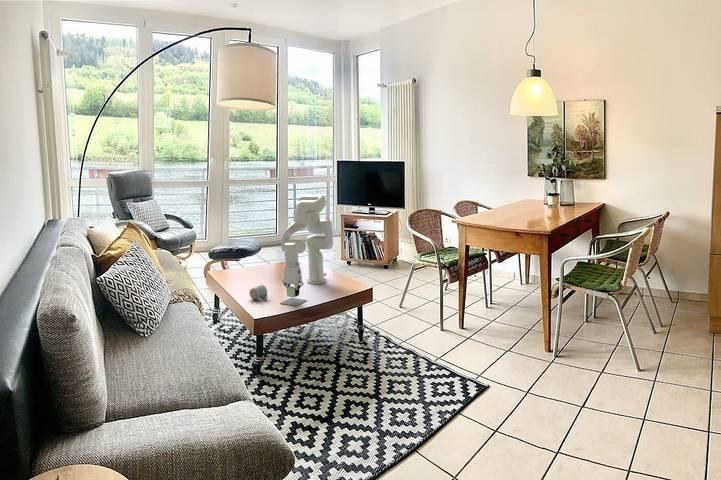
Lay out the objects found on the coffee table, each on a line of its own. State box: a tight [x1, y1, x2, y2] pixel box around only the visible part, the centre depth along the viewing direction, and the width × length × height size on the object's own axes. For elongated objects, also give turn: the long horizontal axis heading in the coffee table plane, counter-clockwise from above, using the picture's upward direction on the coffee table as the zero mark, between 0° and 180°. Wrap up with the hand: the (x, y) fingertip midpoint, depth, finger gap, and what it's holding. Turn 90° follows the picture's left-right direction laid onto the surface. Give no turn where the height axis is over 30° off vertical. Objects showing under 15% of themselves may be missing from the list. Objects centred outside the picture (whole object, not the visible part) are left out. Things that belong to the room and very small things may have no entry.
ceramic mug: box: [249, 284, 269, 302], centre depth 279 cm, size 11×8×8 cm
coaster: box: [279, 297, 308, 307], centre depth 272 cm, size 11×11×1 cm
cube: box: [286, 285, 298, 298], centre depth 271 cm, size 5×5×5 cm
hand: (293, 294), depth 271 cm, fingers closed on cube, 5 cm apart
